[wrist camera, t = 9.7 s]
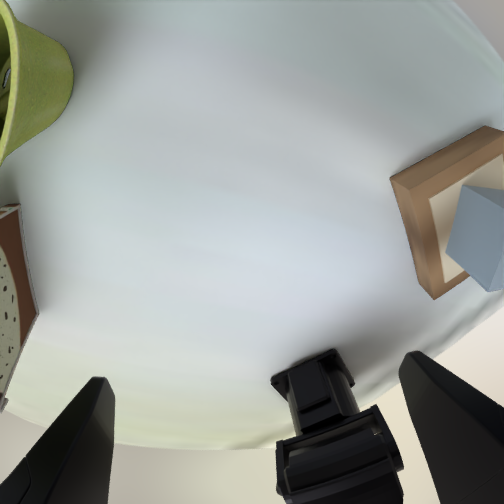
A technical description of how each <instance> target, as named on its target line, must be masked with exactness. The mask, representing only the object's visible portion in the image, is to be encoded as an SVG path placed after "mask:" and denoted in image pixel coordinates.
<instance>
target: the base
mask: <svg viewBox="0 0 504 504" xmlns="http://www.w3.org/2000/svg"><path fill="white" fill-rule="evenodd" d="M390 181H391V184H392V187H393V190H394V193H395V196H396V199H397V203H398V206H399V209H400V212H401V216H402V219H403V223H404V226H405V230H406V233H407V237H408V241H409V244H410V248H411V252H412V256H413V260H414V264H415V269H416V273H417V277H418V282H419V284H420V285H421V286H422V287H423V288H424V290H425V291H426V292H427V293H428V294H429V295H430V296H431V298H432V299H433V300H435V299H437V298H438V297H440V296H442V295H443V294H445V293H446V292H448V291H449V290H450V289H452V288H453V287H455V286H456V285H458V284H459V283H461V282H462V281H464V280H465V279H466V278H468V277H469V276H470V275H469V274H468V273H467V272H466V271H465V270H464V269H463V268H462V267H461V266H460V265H458V264H457V263H456V262H455V261H454V260H453V259H452V258H451V257H450V256H448V255H447V254H446V253H445V251H446V247H447V244H448V240H449V237H450V233H451V229H452V225H453V222H454V218H455V213H456V209H457V205H458V201H459V196H460V191H461V186H462V185H469V186H477V187H485V188H492V189H499V190H504V131H501V130H498V129H494V128H491V127H488V126H484V127H482V128H480V129H478V130H476V131H475V132H473V133H471V134H469V135H467V136H465V137H464V138H462V139H460V140H458V141H456V142H454V143H453V144H451V145H449V146H447V147H445V148H444V149H442V150H440V151H438V152H436V153H434V154H433V155H431V156H429V157H427V158H425V159H424V160H422V161H420V162H418V163H416V164H414V165H413V166H411V167H409V168H407V169H405V170H403V171H402V172H400V173H398V174H396V175H394V176H392V177H391V178H390Z"/></svg>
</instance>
